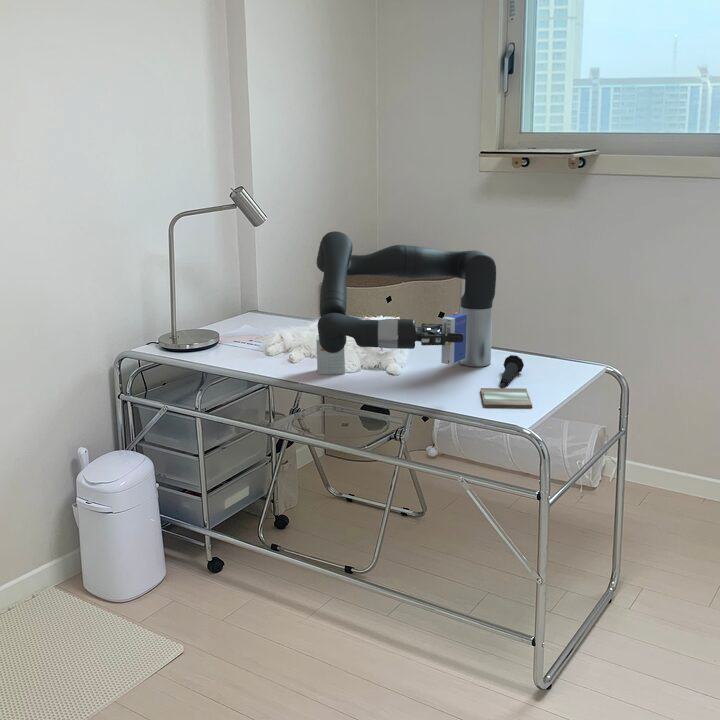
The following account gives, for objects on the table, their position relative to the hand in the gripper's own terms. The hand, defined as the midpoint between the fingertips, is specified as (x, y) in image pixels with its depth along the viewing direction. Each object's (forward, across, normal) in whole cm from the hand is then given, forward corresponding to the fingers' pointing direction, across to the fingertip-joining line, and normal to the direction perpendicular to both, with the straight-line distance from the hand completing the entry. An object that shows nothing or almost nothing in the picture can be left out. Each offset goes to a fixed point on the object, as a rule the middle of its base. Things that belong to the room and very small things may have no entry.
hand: (462, 334), depth 219 cm
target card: (+12, -2, -18) cm, 21 cm away
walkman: (-2, -1, -7) cm, 8 cm away
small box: (-36, -26, -18) cm, 48 cm away
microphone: (+13, -20, -18) cm, 30 cm away
